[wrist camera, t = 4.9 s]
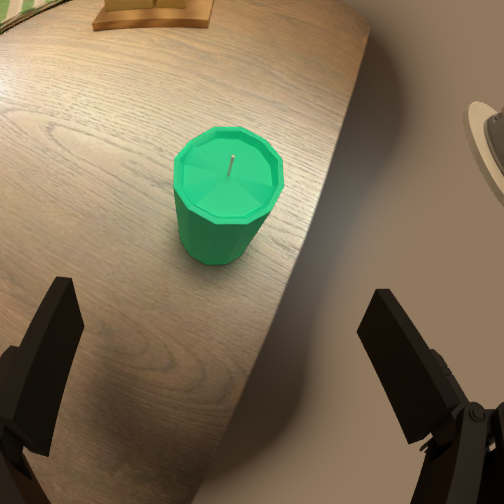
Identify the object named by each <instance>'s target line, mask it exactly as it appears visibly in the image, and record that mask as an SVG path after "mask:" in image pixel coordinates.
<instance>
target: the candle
mask: <svg viewBox="0 0 504 504" xmlns="http://www.w3.org/2000/svg"><path fill="white" fill-rule="evenodd" d="M173 188H174V196H175V204H176V212H177V219H178V226H179V233H180V240H181V242H182V243H183V245H184V247H185V248H186V250H187V252H188V253H189V255H190V256H191V257H193V258H195V259H197V260H199V261H201V262H202V263H204V264H206V265H226V264H228V263H229V262H231V261H232V260H234V259H236V258H237V257H239V256H241V255H242V254H243V252H244V251H245V249H246V248H247V246H248V245H249V243H250V242H251V240H252V239H253V237H254V236H255V234H256V233H257V231H258V230H259V228H260V227H261V225H262V224H263V222H264V221H265V219H266V218H267V216H268V215H269V213H270V212H271V210H272V209H273V207H274V205H275V203H276V201H277V199H278V197H279V195H280V193H281V191H282V189H283V188H284V177H283V160H282V158H281V157H280V156H279V154H278V153H277V152H276V151H275V150H274V149H273V147H272V146H271V145H270V144H269V143H268V142H267V140H266V139H264V138H262V137H260V136H258V135H256V134H254V133H253V132H251V131H249V130H247V129H245V128H243V127H213V128H211V129H209V130H208V131H206V132H204V133H202V134H201V135H199V136H197V137H196V138H194V139H192V140H191V141H189V142H188V143H187V145H186V146H185V147H184V148H183V149H182V150H181V151H180V153H179V154H178V155H177V156H176V157H175V158H174V181H173Z"/></svg>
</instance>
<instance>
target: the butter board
mask: <svg viewBox="0 0 504 504" xmlns="http://www.w3.org/2000/svg"><path fill="white" fill-rule="evenodd" d="M213 2H214V0H188V2H187V5H186V7H185V8H157V1H156V3H155V5H154V7H153V8H143V9H127V10H116V11H106V9H105V5H104V7H103V8H102V10H101V11H100V13H99V14H98V16H97V17H96V18H95V20H94V22H93V23H92V25H93V30H94V31H98V30H107V29H118V28H133V27H200V28H208V25H209V20H210V15H211V11H212V7H213Z"/></svg>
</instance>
